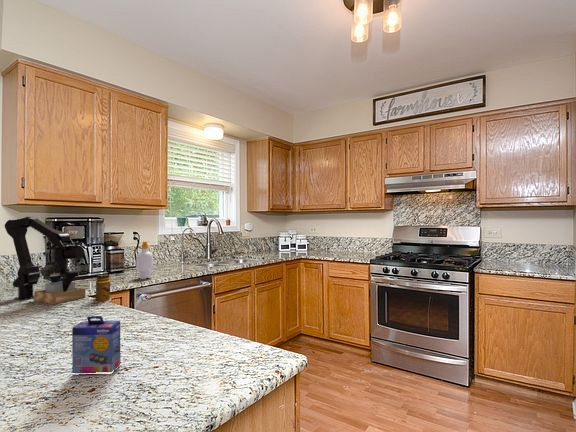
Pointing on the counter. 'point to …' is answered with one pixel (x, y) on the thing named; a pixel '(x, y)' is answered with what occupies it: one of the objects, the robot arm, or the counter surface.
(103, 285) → the condiment
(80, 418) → the counter surface
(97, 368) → the ink cartridge box
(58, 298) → the big crate
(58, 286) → the small crate
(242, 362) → the counter surface
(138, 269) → the soap bottle
